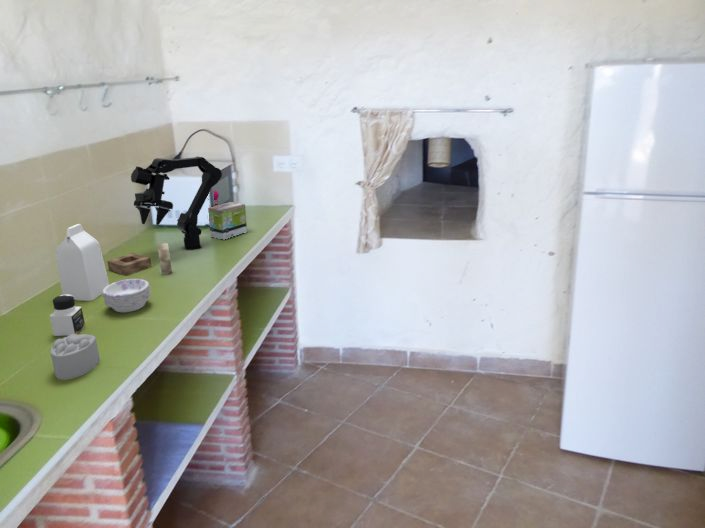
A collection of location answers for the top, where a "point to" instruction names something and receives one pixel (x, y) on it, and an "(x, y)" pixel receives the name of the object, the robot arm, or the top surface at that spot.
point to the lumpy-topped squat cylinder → (74, 355)
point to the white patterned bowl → (127, 295)
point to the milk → (81, 265)
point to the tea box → (227, 220)
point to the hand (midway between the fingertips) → (150, 224)
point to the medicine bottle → (66, 316)
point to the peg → (164, 258)
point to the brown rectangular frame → (129, 264)
